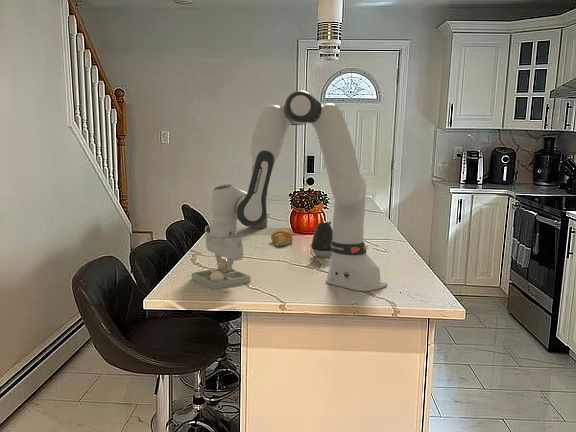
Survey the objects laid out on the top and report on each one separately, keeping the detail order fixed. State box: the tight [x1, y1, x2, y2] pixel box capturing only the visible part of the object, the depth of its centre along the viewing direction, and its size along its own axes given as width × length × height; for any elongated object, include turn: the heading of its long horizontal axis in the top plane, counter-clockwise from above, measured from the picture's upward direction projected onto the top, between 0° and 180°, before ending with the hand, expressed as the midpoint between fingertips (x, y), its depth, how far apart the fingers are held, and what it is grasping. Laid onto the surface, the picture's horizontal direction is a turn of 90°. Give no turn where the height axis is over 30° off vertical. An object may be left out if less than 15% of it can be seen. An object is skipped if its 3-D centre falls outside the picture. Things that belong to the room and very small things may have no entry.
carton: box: [191, 268, 251, 290], centre depth 195 cm, size 15×15×3 cm
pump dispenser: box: [311, 220, 333, 259], centre depth 234 cm, size 10×10×15 cm
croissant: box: [270, 228, 293, 247], centre depth 260 cm, size 21×10×8 cm, turn 175°
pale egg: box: [210, 271, 224, 282], centre depth 189 cm, size 5×5×5 cm
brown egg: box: [217, 258, 229, 272], centre depth 199 cm, size 5×5×5 cm
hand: (224, 267), depth 200 cm, fingers closed on brown egg, 5 cm apart
